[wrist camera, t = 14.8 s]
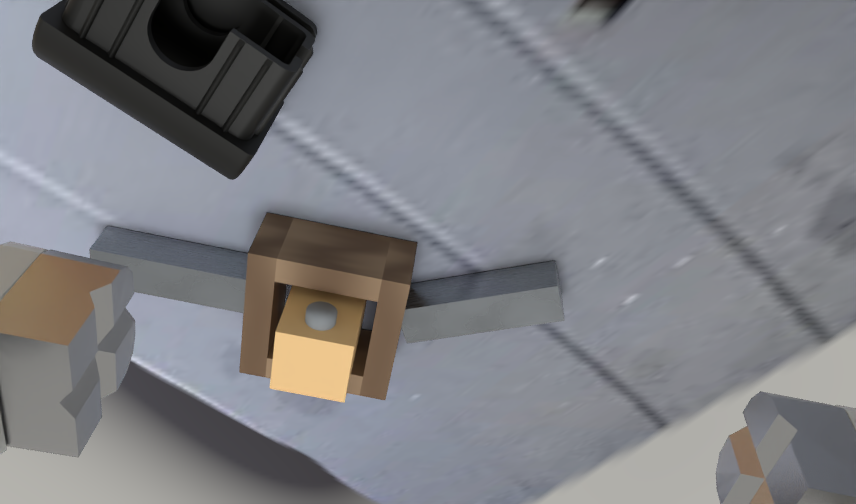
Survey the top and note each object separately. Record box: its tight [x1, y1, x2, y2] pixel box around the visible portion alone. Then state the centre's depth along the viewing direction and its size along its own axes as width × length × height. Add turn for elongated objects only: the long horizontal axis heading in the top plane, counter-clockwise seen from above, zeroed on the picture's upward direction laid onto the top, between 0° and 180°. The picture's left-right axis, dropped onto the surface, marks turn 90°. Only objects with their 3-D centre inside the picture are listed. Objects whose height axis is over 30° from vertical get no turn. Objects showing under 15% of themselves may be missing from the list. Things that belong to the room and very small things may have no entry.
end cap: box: [32, 0, 317, 180], centre depth 36 cm, size 10×7×7 cm
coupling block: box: [270, 285, 367, 402], centre depth 44 cm, size 4×5×7 cm
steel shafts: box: [90, 226, 564, 343], centre depth 45 cm, size 26×6×2 cm, turn 80°
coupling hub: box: [240, 213, 417, 400], centre depth 45 cm, size 8×8×4 cm
